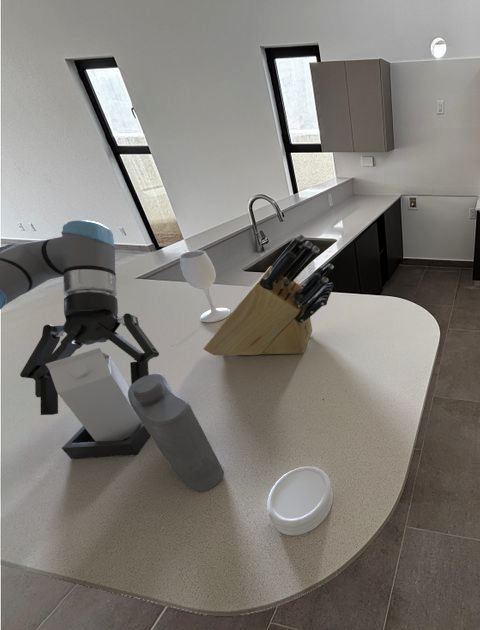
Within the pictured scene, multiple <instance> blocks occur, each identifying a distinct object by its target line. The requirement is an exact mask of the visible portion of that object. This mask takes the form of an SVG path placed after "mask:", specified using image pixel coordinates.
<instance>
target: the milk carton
mask: <svg viewBox="0 0 480 630" xmlns="http://www.w3.org/2000/svg"><path fill="white" fill-rule="evenodd" d="M46 366H47V367H48V369H49V371H50V374H51V377H52V379H53V382H54V385H55V388H56V391H57V393H58V396H59V397H60V398H61V399H62V401H63V402H64V403H65V405H66V406H67V407H68V408H69V409H70V411H71V412H72V413H73V414H74V416H75V418H76V419H77V420H78V421H79V422H80V423H81V425H82V427H83V426H84V427H85V429H86V430H87V431H88V432H89V434H90V435H91V436H92V437H93V439H94V440H95V441H96V442H103V441H119V440H124V439H126V438H129V437H130V436H131V435H132V434H133V433H134V431H135V430H136V429H137V428H138V426H139V425H140V424H141V423H142V422H141V420H140V419H139V417H138V416H137V414H136V412H135V411H134V409H133V408H132V406H131V404H130V402H129V398H128V390H129V388H130V386H129V385H128V383H127V382H126V380H125V378H124V376H123V375H122V373H121V372H120V370H119V369H118V367H117V365H116V364H115V362H114V361H113V359H112V357H111V356H110V355H108V354H106V353H104V352H103V351H102V349H101V348H100V347H97V348H94V349H91V350H87V351H83V352H81V353H78V354H73V355H71V356H70V357H67V358H64V359H60V360H57V361H54V362H50V363H47V364H46Z"/></svg>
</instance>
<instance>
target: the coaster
mask: <svg viewBox="0 0 480 630" xmlns="http://www.w3.org/2000/svg"><path fill="white" fill-rule="evenodd" d="M333 502H334V492H333V486H332V483H331V479H330V477H329V476H328V474H327V473H326V472H325V471H324V470H322V469H321V468H319V467H316V466H313V465H312V466H311V465H307V466H305V465H304V466H300V467H296V468H294V469H292V470H290V471H288V472H286V473H285V474H283V475H282V476H281V477H280V478H279V479H278V480H277V481H275V483H274V485H273V486H272V488H271V490H270V492H269V495H268V498H267V503H266V508H267V513H268V517H269V518H270V520H271V523H272V525H273V527H274V528H275V529H276V530H277V531H278V532H279V533H281V534H284V535H287V536H292V537H293V536H301V535H305V534H307V533H309V532H311V531H313V530H315V529H316V528H317V527H318V526H319V525H321V524H322V522H324V521H325V519H326V518H327V517H328V515H329V513H330V511H331V509H332V506H333Z"/></svg>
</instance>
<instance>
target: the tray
mask: <svg viewBox="0 0 480 630" xmlns="http://www.w3.org/2000/svg"><path fill="white" fill-rule="evenodd" d="M151 438H152V437H151V436H150V434H149V433H148V431H147V429H146V428H145V426H144V425H143V423H141V424H140V425H139V426H138V428H137V429H136V430H135V431H134V433H133V434H132V435H131V436H130V437H129V438H126V439H124V440H119V441H103V442H96V441H95V440H94V439H93V437H92V436H91V435H90V434H89V432H88V431H87V430H86V429H85V427H84V426H83V425H82V427H80V428H79V429H78V431H76V433H74V434H73V436H72V437H70V439H69V440H67V442H66V443H64V445H63V446H62V447H61V450H63V452H64V453H65V454H66V455H67V457H69V459H70V460H79V459H93V458H94V459H95V458H110V457H129V456H138V455H139V453H140V452H141V451H142V449H143V448H144V447H145V445H146V444H147V442H149V440H150V439H151Z"/></svg>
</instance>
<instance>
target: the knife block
mask: <svg viewBox="0 0 480 630" xmlns="http://www.w3.org/2000/svg"><path fill="white" fill-rule="evenodd" d="M305 238H306V237H305V236H304V235H303V234H301V233H299V234H297V235H296V237H294V239H292V241H291V242H290V243H289V245H288V246H287V247H286V248H285V250H284V251H282V253H281V254H280V255H279V257H278V258H277V259H276V260H275V262H274V263H273V264H272V265H270V266H269V267H268V268H267V269H266V271H265V272H264V273H263V274H262V275H261V277H260V278H259V279H258V280H257V281H256V283H255V284H254V285H253V286H252V287H251V289H250V290H249V291H248V293H247V294H246V295H245V296H244V297H243V298H242V300H241V301H240V302H239V303H238V305H237V306H236V307H235V308H234V309H233V311H232V312H230V315H229V316H228V317H226V318H225V320H224V321H223V322H222V324H221V325H220V327H219V328H218V329H217V330H216V331H215V333H214V334H213V335H212V336H211V337H210V339H209V340H208V341H207V342H206V344H205V345H204V346H203V350H204V351H206V352H207V353H209V354H211V355H212V356H223V357H224V356H225V357H226V356H259V355H284V354H285V355H293V354H294V355H295V354H304V352H305V350H306V348H307V345H308V343H309V341H310V338H311V336H312V333H313V326H312V320H311V317H312V316H313V315H314V314H316V313H317V312H318V311H319V310H320V309H321V308H322V307H325V306H327V304H328V301H329V298H330V296H331V294H332V292H333V288H334V283H333V282H329V278H328V277H327V276H328V275H329V274H330V273H331V272H332V270H333V269H334V268H335V266H334V265H333V264H332V263H328V264H327V265H326V266H325V267H321V266H319V267H318V268H317V269H316V270H314V272H313V273H312V274H310V276H309V277H308V278H307V279H306V280H305V282H304V283H303V284H302V285H300V284H299V283H297V282H296V281H295V280H296V279H297V277H298V276H300V274H301V273H302V272H303V271H304V270H305V269H306V268H307V267H308V265H310V263H311V262H312V261H313V259H314V258H315V257H316V256H317V255H318V254H319V252H320V248H319V246H317V245H314V244H313V243H312V242H311V241H309V240H306V241H305ZM304 241H305V242H304ZM303 242H304V243H303ZM302 243H303V244H302ZM328 282H329V283H328Z"/></svg>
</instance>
